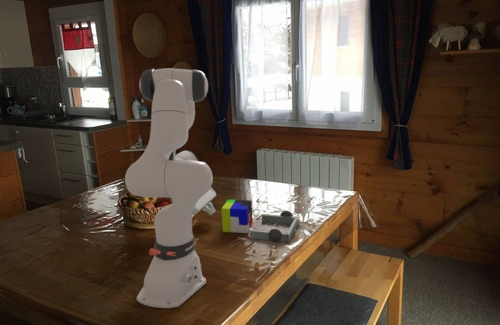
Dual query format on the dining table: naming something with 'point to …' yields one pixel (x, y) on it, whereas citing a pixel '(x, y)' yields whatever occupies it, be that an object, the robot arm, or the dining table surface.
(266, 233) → the tray
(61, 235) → the dining table surface
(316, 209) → the dining table surface
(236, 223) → the puzzle toy
